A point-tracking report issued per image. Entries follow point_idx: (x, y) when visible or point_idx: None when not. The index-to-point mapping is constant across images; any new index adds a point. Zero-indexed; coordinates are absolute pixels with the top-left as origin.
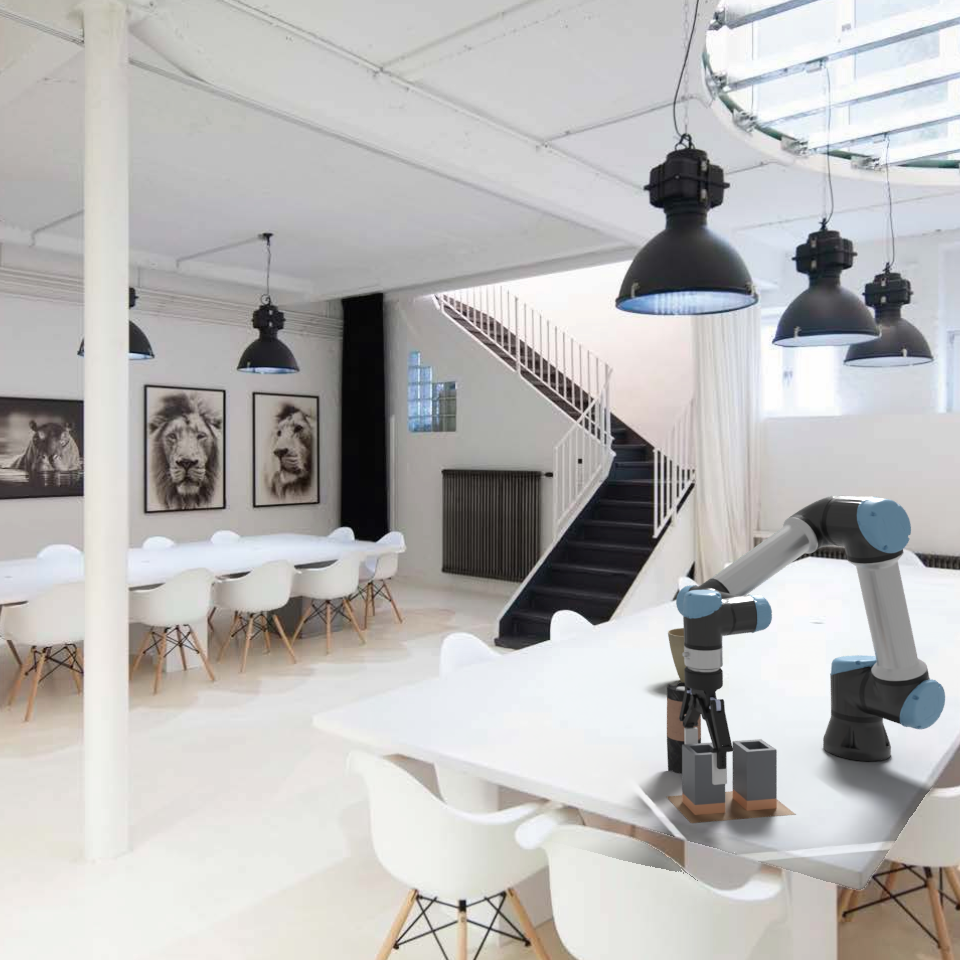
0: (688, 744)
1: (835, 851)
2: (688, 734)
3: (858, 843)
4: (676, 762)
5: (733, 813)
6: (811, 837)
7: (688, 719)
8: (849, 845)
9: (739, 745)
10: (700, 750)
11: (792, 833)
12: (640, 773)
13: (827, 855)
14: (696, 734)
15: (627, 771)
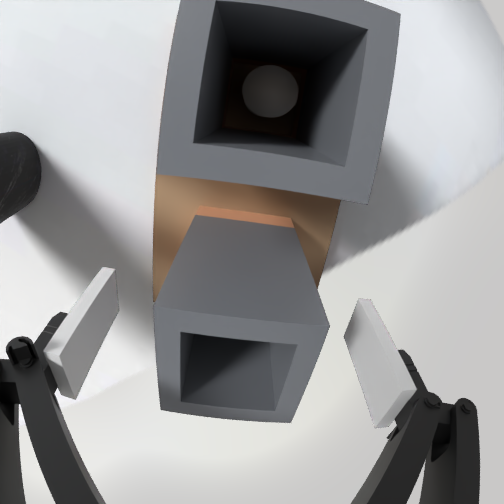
0: (163, 395)
1: (493, 104)
2: (80, 371)
3: (481, 37)
4: (9, 214)
5: (305, 200)
6: (443, 91)
7: (75, 446)
8: (484, 58)
9: (248, 176)
10: (184, 347)
11: (416, 113)
12: (13, 264)
13: (497, 131)
14: (74, 340)
15: (7, 283)
